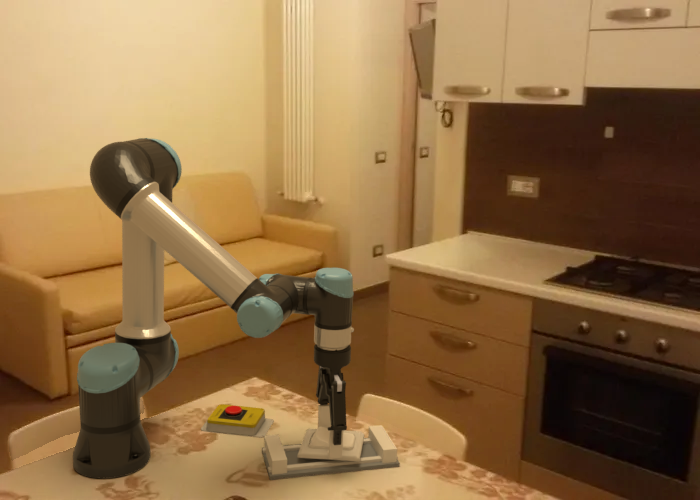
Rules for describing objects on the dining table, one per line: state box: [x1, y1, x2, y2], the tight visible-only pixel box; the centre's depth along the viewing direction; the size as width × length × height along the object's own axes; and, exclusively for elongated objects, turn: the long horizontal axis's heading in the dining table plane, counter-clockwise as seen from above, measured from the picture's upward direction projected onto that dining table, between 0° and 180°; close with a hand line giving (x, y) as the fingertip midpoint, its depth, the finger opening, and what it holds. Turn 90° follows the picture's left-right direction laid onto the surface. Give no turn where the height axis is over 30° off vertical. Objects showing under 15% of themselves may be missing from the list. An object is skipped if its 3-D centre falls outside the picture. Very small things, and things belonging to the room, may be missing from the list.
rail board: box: [261, 424, 400, 481], centre depth 156 cm, size 27×12×4 cm, turn 104°
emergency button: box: [200, 403, 275, 438], centre depth 170 cm, size 9×4×15 cm
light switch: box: [298, 426, 365, 461], centre depth 156 cm, size 11×4×13 cm
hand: (329, 444), depth 156 cm, fingers closed on light switch, 10 cm apart
